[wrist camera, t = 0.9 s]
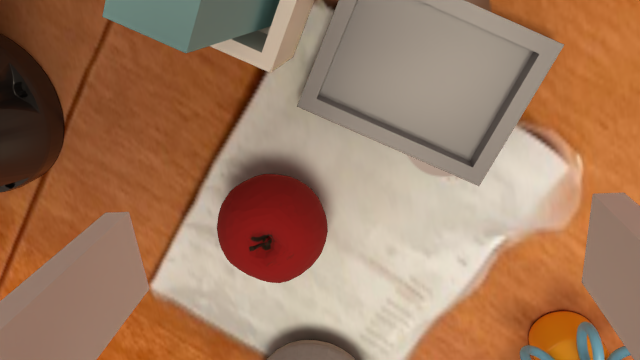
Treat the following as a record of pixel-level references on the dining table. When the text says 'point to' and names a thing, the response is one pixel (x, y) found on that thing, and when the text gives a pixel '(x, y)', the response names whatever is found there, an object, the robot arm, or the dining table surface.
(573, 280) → the dining table surface
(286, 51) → the white open box
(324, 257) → the dining table surface
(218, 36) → the peg
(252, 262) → the apple
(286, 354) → the coffee pot
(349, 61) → the tray
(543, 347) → the yellow ringed vase
